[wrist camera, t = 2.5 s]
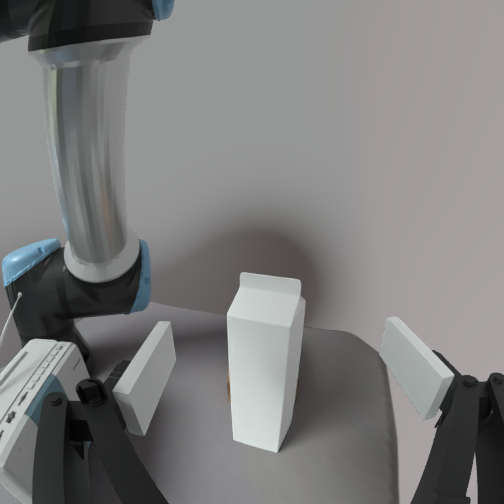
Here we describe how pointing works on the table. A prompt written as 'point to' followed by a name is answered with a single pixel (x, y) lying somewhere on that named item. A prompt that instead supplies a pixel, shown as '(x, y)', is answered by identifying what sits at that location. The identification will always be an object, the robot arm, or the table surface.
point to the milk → (264, 357)
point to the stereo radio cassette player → (32, 403)
